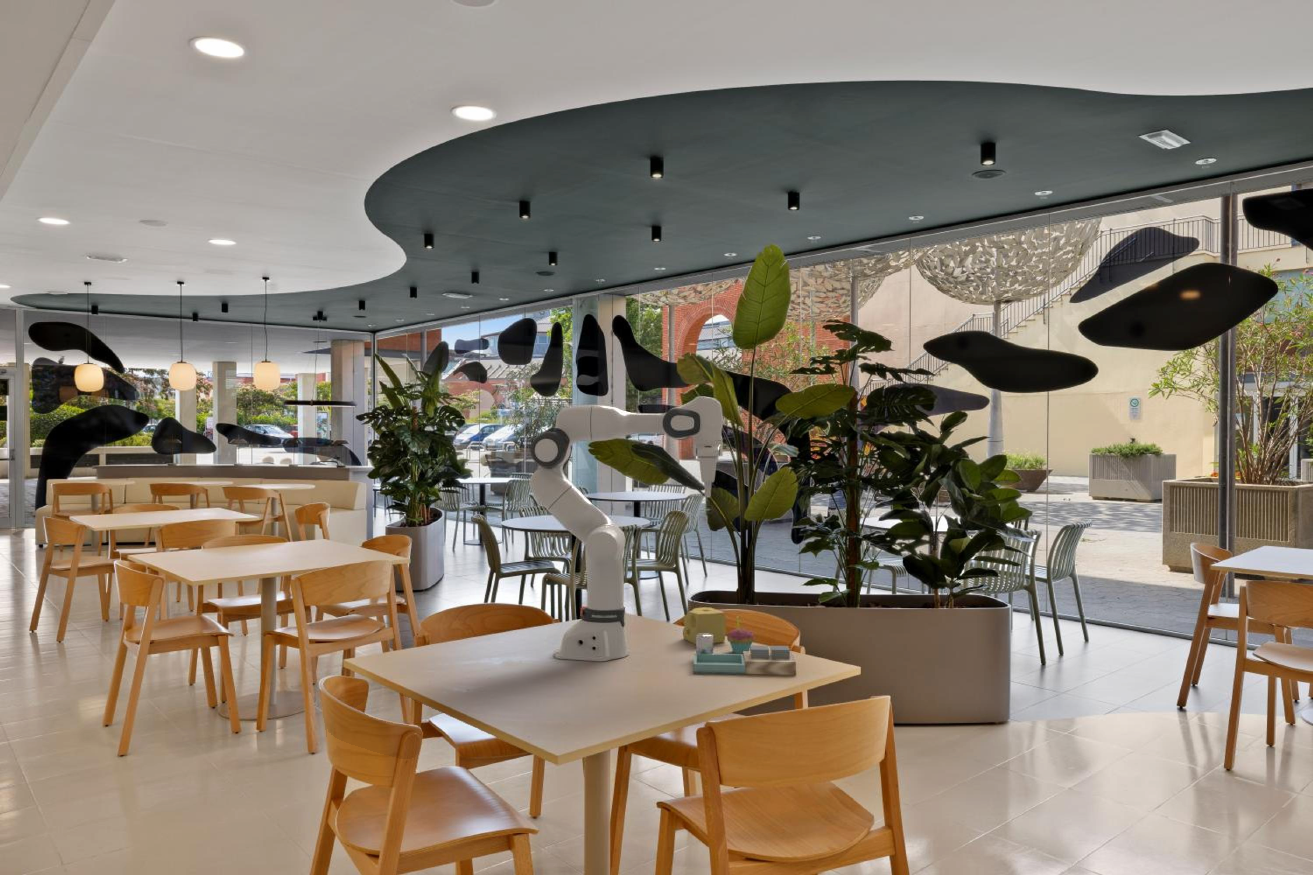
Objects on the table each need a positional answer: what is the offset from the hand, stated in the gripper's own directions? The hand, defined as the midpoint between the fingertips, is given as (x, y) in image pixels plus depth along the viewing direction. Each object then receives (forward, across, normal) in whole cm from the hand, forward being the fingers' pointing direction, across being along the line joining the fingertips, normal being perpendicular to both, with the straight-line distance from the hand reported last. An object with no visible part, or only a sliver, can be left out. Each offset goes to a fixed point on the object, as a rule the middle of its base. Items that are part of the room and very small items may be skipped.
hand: (707, 496), depth 272 cm
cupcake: (+48, -6, +10) cm, 50 cm away
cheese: (+48, -21, -1) cm, 53 cm away
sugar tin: (+48, +3, -1) cm, 48 cm away
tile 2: (+44, +14, +21) cm, 51 cm away
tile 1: (+44, +14, +15) cm, 49 cm away
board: (+48, +14, +18) cm, 53 cm away
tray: (+48, +14, +3) cm, 50 cm away
